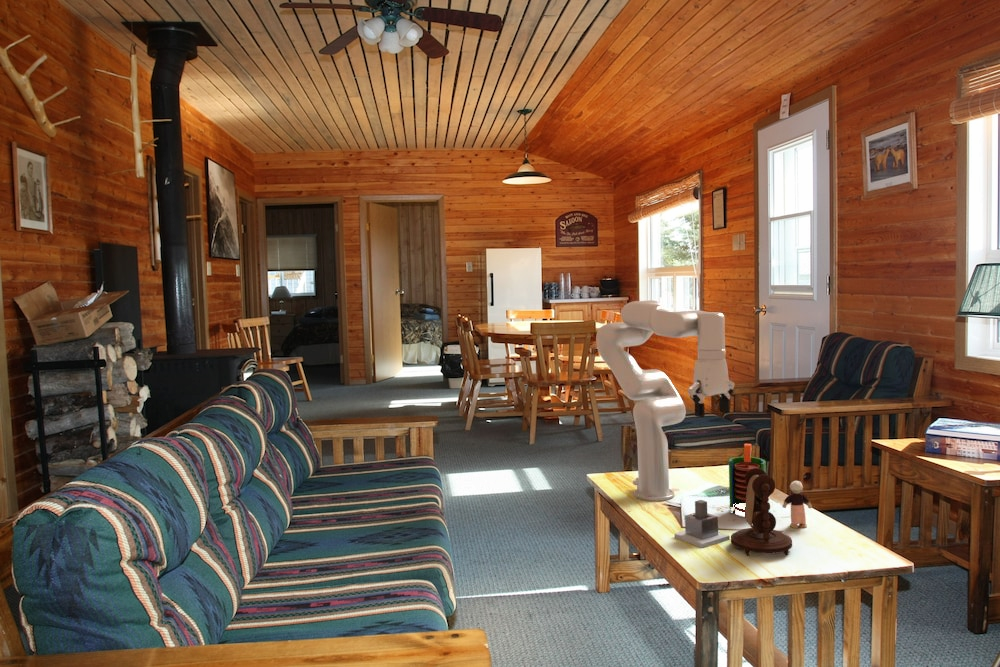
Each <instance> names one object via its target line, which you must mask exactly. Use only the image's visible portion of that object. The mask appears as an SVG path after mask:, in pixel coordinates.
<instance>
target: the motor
mask: <svg viewBox="0 0 1000 667" xmlns="http://www.w3.org/2000/svg"><path fill="white" fill-rule="evenodd" d="M766 464H767V462H766V460H765V459H763V458H759V457H755V456H752V443H744V445H743V456H736V457H731V458H730V459H728V479H729V480H728V485H729V508H730V507H733V504H735V503H736V504H739V503H746V494H747V488H748V485H747V484H746V482H745V476H746V473H747V472H748V471H749V470H750V469H753V468H760V469H762V470H763V471H765V473H766V474H767V466H766ZM757 503H758V502H757ZM736 504H735V505H736ZM735 505H734V507H735ZM735 509H737V510H739V511H742V512H745V510H743V509H739V508H737V507H735Z"/></svg>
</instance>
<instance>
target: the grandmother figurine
mask: <svg viewBox="0 0 1000 667" xmlns="http://www.w3.org/2000/svg"><path fill="white" fill-rule="evenodd" d="M789 488H790V490H791V492H792V494H789V495H788V496H786V498H784V500H783V504H782V505H781V506H782V508H783V509H786V508H787V506H788V505H789V504H790V522H791V523H790V524H789V526H790V527H791V528H793V529H799V527H800V528H803V529H804V528H807V527H808V524H807V522H806V521H807V519H806V511H805V505H804V503H805V504H806V506H807V508H808V509H812V508H813V506H812V503H811V501H810V500H809V498H808V497H807V496H806V495H805V494H803V493H801V492H802V491H803V488H804V487H803V483H802V482H801V481H800V480H794V481H792V482H791V483H790V485H789Z"/></svg>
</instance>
